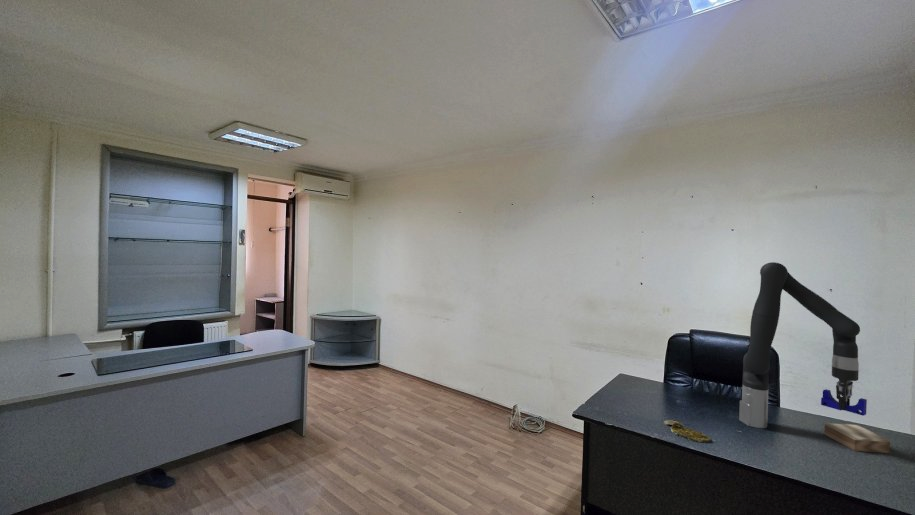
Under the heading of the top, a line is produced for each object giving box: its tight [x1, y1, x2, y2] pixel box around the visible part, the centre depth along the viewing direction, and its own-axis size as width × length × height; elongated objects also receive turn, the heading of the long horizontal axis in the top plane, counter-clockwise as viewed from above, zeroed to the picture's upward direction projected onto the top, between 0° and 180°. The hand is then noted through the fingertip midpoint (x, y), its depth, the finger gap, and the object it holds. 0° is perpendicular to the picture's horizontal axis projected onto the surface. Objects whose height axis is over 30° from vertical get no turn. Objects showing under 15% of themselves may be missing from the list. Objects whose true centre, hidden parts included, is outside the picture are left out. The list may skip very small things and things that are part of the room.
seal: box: [670, 421, 713, 444], centre depth 154 cm, size 9×5×15 cm
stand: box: [824, 422, 891, 454], centre depth 150 cm, size 13×13×5 cm
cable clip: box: [820, 388, 868, 416], centre depth 148 cm, size 12×4×6 cm, turn 28°
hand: (844, 407), depth 148 cm, fingers closed on cable clip, 4 cm apart
